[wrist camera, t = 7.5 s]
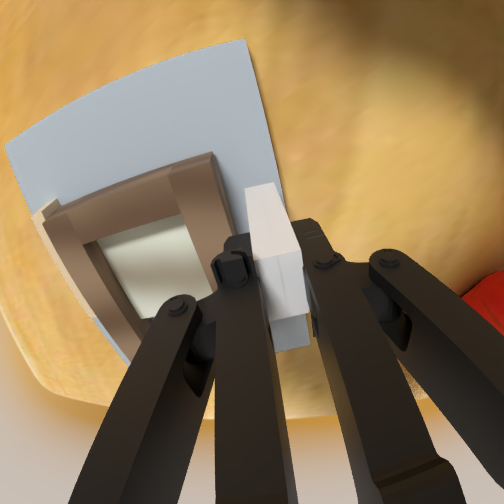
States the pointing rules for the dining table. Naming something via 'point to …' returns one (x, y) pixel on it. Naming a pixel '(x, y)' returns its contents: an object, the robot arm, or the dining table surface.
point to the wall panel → (155, 145)
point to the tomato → (489, 299)
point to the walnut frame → (144, 243)
